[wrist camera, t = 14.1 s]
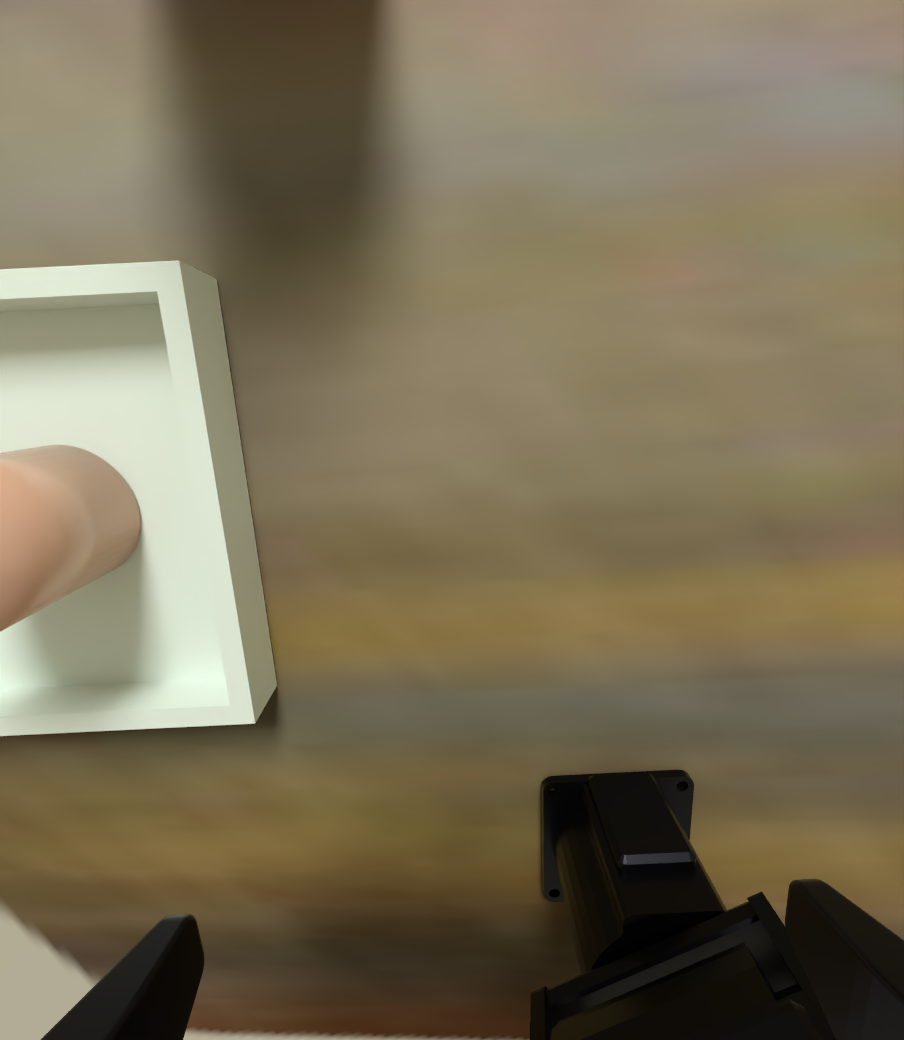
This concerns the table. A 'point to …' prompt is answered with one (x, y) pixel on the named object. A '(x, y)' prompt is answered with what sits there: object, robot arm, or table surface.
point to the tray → (159, 495)
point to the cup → (59, 525)
